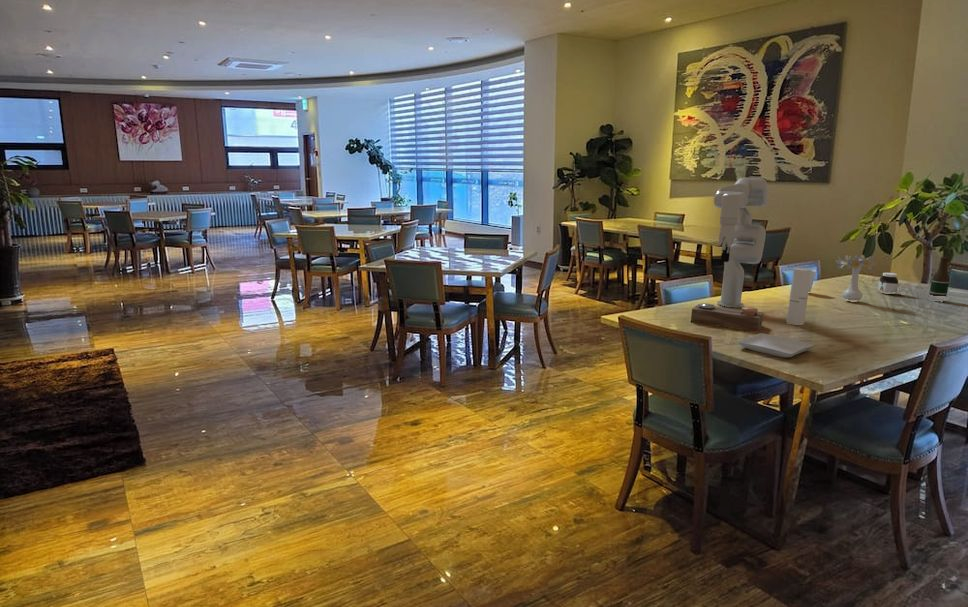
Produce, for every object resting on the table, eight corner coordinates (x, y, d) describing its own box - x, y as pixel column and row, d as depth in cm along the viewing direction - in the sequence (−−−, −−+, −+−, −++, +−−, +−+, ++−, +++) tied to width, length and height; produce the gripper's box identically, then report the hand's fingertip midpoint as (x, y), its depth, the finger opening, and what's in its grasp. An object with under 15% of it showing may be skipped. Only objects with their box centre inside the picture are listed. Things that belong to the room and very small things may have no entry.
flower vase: (833, 296, 339) (840, 251, 333) (872, 302, 327) (879, 255, 321) (827, 300, 329) (834, 254, 324) (867, 306, 317) (874, 258, 312)
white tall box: (805, 326, 274) (813, 270, 268) (788, 325, 275) (796, 270, 270) (801, 322, 281) (808, 268, 275) (784, 321, 282) (791, 267, 277)
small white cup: (700, 315, 284) (701, 302, 283) (714, 317, 281) (715, 304, 280) (696, 318, 279) (698, 305, 278) (711, 320, 276) (712, 307, 274)
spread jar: (874, 291, 356) (878, 271, 353) (895, 292, 355) (899, 272, 352) (886, 296, 344) (889, 275, 342) (907, 296, 343) (911, 276, 341)
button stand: (697, 316, 288) (698, 304, 287) (761, 325, 274) (763, 312, 272) (690, 321, 278) (692, 308, 277) (757, 331, 264) (759, 317, 262)
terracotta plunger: (741, 319, 275) (743, 306, 274) (757, 321, 272) (758, 308, 270) (738, 322, 270) (740, 308, 268) (754, 324, 266) (756, 310, 265)
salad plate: (760, 339, 252) (761, 331, 252) (814, 352, 237) (815, 343, 236) (734, 349, 239) (735, 340, 238) (790, 362, 223) (792, 353, 222)
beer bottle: (949, 302, 330) (957, 258, 325) (934, 302, 330) (942, 258, 325) (938, 299, 338) (946, 256, 332) (924, 299, 338) (932, 255, 332)
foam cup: (797, 293, 345) (800, 270, 342) (792, 290, 354) (795, 268, 351) (815, 294, 344) (818, 271, 341) (809, 291, 353) (813, 269, 350)
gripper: (723, 218, 284) (720, 258, 289) (716, 222, 272) (712, 263, 277) (741, 220, 281) (736, 259, 285) (734, 223, 268) (729, 265, 273)
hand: (724, 261), depth 281 cm, fingers closed
